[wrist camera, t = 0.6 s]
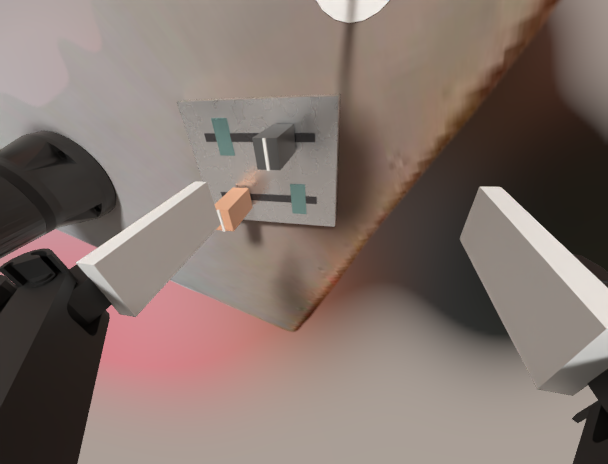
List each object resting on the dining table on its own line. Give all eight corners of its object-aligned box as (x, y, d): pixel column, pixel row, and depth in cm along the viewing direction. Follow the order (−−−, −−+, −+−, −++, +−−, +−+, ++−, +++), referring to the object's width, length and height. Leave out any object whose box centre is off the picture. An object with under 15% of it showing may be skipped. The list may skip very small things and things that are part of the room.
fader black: (276, 151, 28) (256, 170, 23) (273, 124, 26) (251, 138, 21) (295, 151, 27) (279, 170, 22) (293, 124, 26) (276, 138, 21)
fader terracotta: (237, 206, 34) (215, 230, 29) (232, 187, 32) (208, 209, 27) (252, 207, 33) (232, 232, 29) (248, 188, 32) (227, 211, 27)
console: (220, 210, 38) (213, 217, 37) (187, 99, 29) (176, 102, 27) (336, 219, 34) (334, 227, 33) (340, 93, 25) (338, 95, 23)
